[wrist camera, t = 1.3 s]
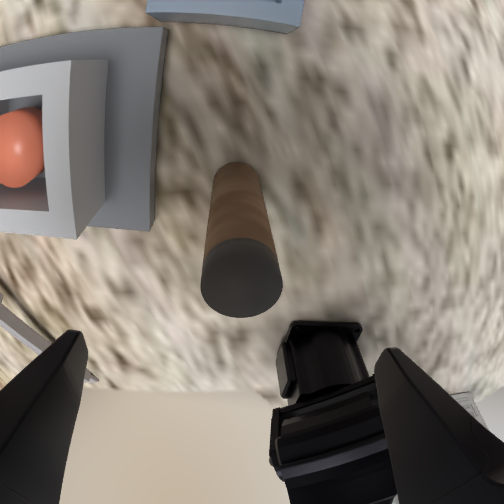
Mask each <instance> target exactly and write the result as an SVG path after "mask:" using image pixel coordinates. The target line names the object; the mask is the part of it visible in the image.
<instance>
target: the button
mask: <svg viewBox="0 0 504 504" xmlns="http://www.w3.org/2000/svg"><path fill="white" fill-rule="evenodd" d="M44 170H45V167H44V152H43V128H42V111H41V110H40V109H38V108H35V107H23V108H20V109H17V110H14V111H11V112H8V113H6V114H3V115H1V116H0V183H1V184H3V185H5V186H7V187H11V188H18V187H22V186H24V185H25V184H27V183H28V182H30V181H31V180H32V179H34V178H35V177H36V176H38V175H39V174H40V173H42V172H43V171H44Z"/></svg>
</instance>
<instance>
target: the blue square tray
mask: <svg viewBox="0 0 504 504" xmlns="http://www.w3.org/2000/svg"><path fill="white" fill-rule="evenodd" d="M303 6H304V0H148V1H147V6H146V12H145V13H147V14H149V15H150V16H152V17H154V18H155V19H157V20H159V21H160V22H187V23H205V24H218V25H228V26H238V27H246V28H253V29H260V30H267V31H273V32H279V33H284V34H288V33H290V32H292V31H293V30H295V29H297V28H298V27H300V23H301V17H302V11H303Z"/></svg>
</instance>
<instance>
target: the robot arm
mask: <svg viewBox="0 0 504 504" xmlns="http://www.w3.org/2000/svg"><path fill="white" fill-rule="evenodd" d="M296 327H297V328H296ZM362 330H363V329H362V326H361V324H359V323H324V322H293V323H292V324H291V325H290V327H289V331H288V334H287V337H286V340H285V342H283V343H282V344H281V346H280V349H279V353H278V356H277V359H276V366H277V373H278V380H279V387H280V395H281V397H282V398H283V399H288V405H289V406H286V407H282V408H280V407H279V408H275V409H273V416H272V419H271V434H270V449H269V456H270V458H269V462H270V464H271V466H273V467H274V469H275V471H276V473H277V475H278V477H279V478H280V479H281V480H282V481H283V482H285V484H286V487H287V490H288V495H289V499H290V504H392V502H393V500H394V497H395V496H396V495H398V501H399V504H504V442H502V441H501V440H500V439H498V438H497V437H496V436H495V435H494V434H492V433H491V432H490V431H489V430H487V429H486V428H485V427H484V426H483V425H482V424H481V423H480V422H479V421H477V420H476V419H475V418H474V417H473V416H472V415H470V413H469V412H468V411H467V410H466V409H465V408H463V407H462V406H461V405H460V404H459V403H458V402H457V401H456V400H455V399H454V398H453V397H452V396H450V395H449V394H448V393H447V392H446V391H445V390H444V389H443V388H442V387H441V386H440V385H438V384H437V383H436V382H435V381H434V380H433V379H432V378H431V377H430V376H429V375H427V374H426V373H425V372H424V371H423V370H422V369H421V368H420V367H419V366H418V365H416V364H415V363H414V362H413V361H412V360H411V359H410V358H409V357H408V356H406V355H405V354H404V353H403V352H402V351H401V350H400V349H398V348H396V347H393V348H386V349H384V351H383V352H382V354H381V356H380V357H379V359H378V361H377V362H376V364H375V368H374V372H375V374H372V375H373V376H370V377H369V374H368V371H367V369H366V366H365V363H364V360H363V358H362V355H361V352H360V350H359V347H358V344H357V340H358V338H359V336H360V334H361V332H362ZM87 360H88V349H87V346H86V342H85V339H84V336H83V333H82V332H81V331H77V330H71V329H70V330H67V331H66V332H65V333H64V334H62V335H61V336H60V337H59V338H58V339H57V340H55V341H54V342H53V343H52V344H51V345H50V346H49V347H47V348H46V349H45V350H44V351H43V352H42V353H41V354H40V355H38V356H37V357H36V358H35V359H34V360H33V361H32V362H31V363H30V364H28V365H27V366H26V367H25V368H24V369H23V370H22V371H21V372H20V373H19V374H18V375H16V376H15V377H14V378H13V379H12V380H11V381H10V382H9V383H8V384H7V385H6V386H5V387H4V388H3V389H1V390H0V504H59V500H60V494H61V488H62V482H63V477H64V471H65V466H66V461H67V456H68V451H69V446H70V443H71V438H72V434H73V429H74V425H75V421H76V417H77V414H78V410H79V405H80V401H81V396H82V389H83V383H84V377H85V371H86V365H87Z"/></svg>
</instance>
